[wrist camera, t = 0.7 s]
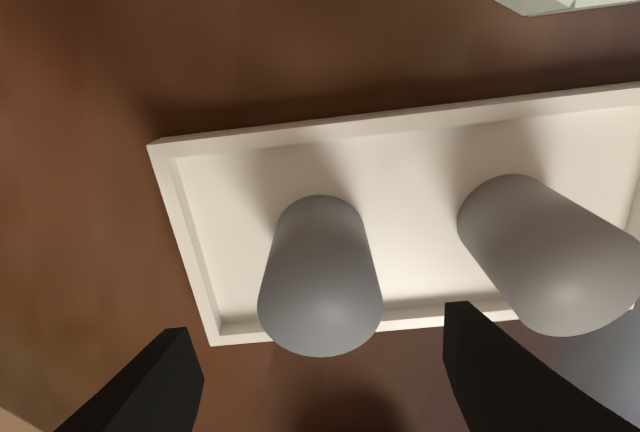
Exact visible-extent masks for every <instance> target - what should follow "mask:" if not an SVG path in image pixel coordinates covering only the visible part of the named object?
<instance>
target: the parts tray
mask: <svg viewBox="0 0 640 432" xmlns="http://www.w3.org/2000/svg"><path fill="white" fill-rule="evenodd" d="M146 147H147V150H148V153H149V156H150V160H151V163H152V166H153V169H154V172H155V175H156V178H157V181H158V185H159V188H160V191H161V194H162V197H163V200H164V203H165V206H166V210H167V213H168V216H169V219H170V222H171V225H172V228H173V231H174V234H175V238H176V241H177V244H178V247H179V250H180V253H181V256H182V259H183V263H184V266H185V269H186V272H187V275H188V278H189V281H190V284H191V288H192V291H193V294H194V297H195V300H196V303H197V306H198V309H199V313H200V316H201V319H202V322H203V325H204V328H205V331H206V334H207V338H208V341H209V344H210V346H221V345H232V344H244V343H255V342H266V341H273V340H272V339H271V338H270V337H269V336H268V335H267V333H266V332H265V330H264V329H263V327H262V325H261V323H260V321H259V318H258V313H257V300H258V295H259V291H260V287H261V283H262V279H263V275H264V272H265V268H266V264H267V260H268V256H269V252H270V248H271V244H272V241H273V237H274V233H275V229H276V225H277V222H278V220H279V218H280V216H281V214H282V213H283V212H284V210H285V209H286V208H287V207H288V206H290V205H291V204H292V203H294V202H295V201H297V200H299V199H301V198H304V197H307V196H311V195H329V196H334V197H337V198H339V199H342V200H344V201H345V202H347V203H348V204H350V205H351V206H352V207H353V208H354V209H355V210H356V211H357V212H358V214H359V215H360V217H361V219H362V221H363V224H364V227H365V231H366V235H367V239H368V243H369V247H370V251H371V255H372V259H373V263H374V267H375V270H376V274H377V278H378V282H379V286H380V290H381V294H382V298H383V314H382V319H381V321H380V324H379V326H378V328H377V330H376V331H375V332H380V331H391V330H402V329H414V328H425V327H436V326H444V309H445V302H456V301H467V300H468V301H469V302H470V303H471V304H472V305H474V306H475V307H476V308H477V309H478V310H479V311H481V312H482V313H483V314H484V315H485V316H487V317H488V318H489V319H490V320H491V321H492V322H493V321H505V320H516V319H519V318H518V316H517V315H516V314H515V312H514V311H513V310H512V308H511V307H510V306H509V304H508V303H507V302H506V300H505V299H504V298H503V296H502V295H501V294H500V292H499V291H498V290H497V288H496V287H495V286H494V284H493V283H492V282H491V280H490V279H489V278H488V276H487V275H486V274H485V272H484V271H483V270H482V268H481V267H480V266H479V264H478V263H477V262H476V260H475V259H474V258H473V256H472V255H471V254H470V252H469V251H468V250H467V248H466V247H465V246H464V245H463V243H462V242H461V240H460V238H459V235H458V232H457V217H458V213H459V210H460V208H461V206H462V204H463V202H464V200H465V199H466V198H467V196H468V195H469V194H470V193H471V192H472V191H473V190H474V189H475V188H476V187H478V186H479V185H481V184H482V183H484V182H485V181H487V180H489V179H492V178H494V177H497V176H501V175H506V174H521V175H526V176H529V177H532V178H534V179H535V180H537V181H539V182H541V183H542V184H544V185H546V186H547V187H549V188H551V189H553V190H554V191H556V192H558V193H559V194H561V195H563V196H565V197H566V198H568V199H570V200H572V201H573V202H575V203H577V204H578V205H580V206H582V207H584V208H585V209H587V210H589V211H591V212H592V213H594V214H596V215H597V216H599V217H601V218H603V219H604V220H606V221H608V222H609V223H611V224H613V225H615V226H616V227H618V228H620V229H622V230H623V231H625V232H627V233H628V234H630V235H632V236H634V237H635V238H636V239H637V240H639V241H640V81H635V82H627V83H618V84H610V85H601V86H593V87H584V88H576V89H567V90H559V91H551V92H542V93H534V94H525V95H517V96H508V97H500V98H491V99H483V100H474V101H466V102H457V103H449V104H440V105H432V106H423V107H415V108H407V109H398V110H390V111H381V112H373V113H364V114H356V115H347V116H339V117H330V118H322V119H313V120H305V121H296V122H288V123H279V124H271V125H263V126H254V127H246V128H237V129H229V130H220V131H212V132H203V133H195V134H186V135H178V136H169V137H161V138H159V139H157V140H155V141H153V142H152V143H150V144H148V145H146ZM634 304H635V303H634ZM634 304H633V305H632V306H631V307H630V308H629V309H633V307H634ZM629 309H628V310H629Z"/></svg>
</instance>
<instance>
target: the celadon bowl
mask: <svg viewBox="0 0 640 432" xmlns="http://www.w3.org/2000/svg"><path fill="white" fill-rule="evenodd" d="M495 1H496V2H498V3H500V4H502V5H504V6H506V7H507V8H509V9H511V10H513V11H515V12H516V13H518V14H520V15H522V16H526V15H528V17H531V16H539V15H546V14H554V13H562V12H570V11H578V10H585V9H593V8H601V7H609V6H617V5H623V4H629V3H635V2H640V0H495Z"/></svg>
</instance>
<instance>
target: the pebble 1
mask: <svg viewBox="0 0 640 432" xmlns="http://www.w3.org/2000/svg"><path fill="white" fill-rule="evenodd" d="M257 313H258V318H259V321H260V323H261V325H262V327H263V329H264V330H265V332H266V333H267V335H268V336H269V337H270V338H271V339H272V340H273V341H275V342H276V343H277V344H278V345H280V346H281V347H283V348H285V349H287V350H289V351H291V352H294V353H296V354H300V355H304V356H310V357H330V356H336V355H341V354H344V353H347V352H349V351H351V350H354V349H356V348H357V347H359V346H361V345H362V344H363V343H365V342H366V341H367V340H368V339H369V338H370V337H371V336H372V335H373V334H374V332H375V331H376V330H377V328H378V326H379V324H380V321H381V319H382V314H383V298H382V294H381V290H380V286H379V282H378V278H377V274H376V270H375V267H374V263H373V259H372V255H371V251H370V247H369V243H368V239H367V235H366V231H365V227H364V224H363V221H362V219H361V217H360V215H359V214H358V212H357V211H356V210H355V209H354V208H353V207H352V206H351V205H350V204H348V203H347V202H345V201H344V200H342V199H339V198H337V197H334V196H329V195H311V196H307V197H304V198H301V199H299V200H297V201H295V202H294V203H292V204H291V205H290V206H288V207H287V208H286V209H285V210H284V212H283V213H282V214H281V216H280V218H279V220H278V222H277V225H276V229H275V233H274V237H273V241H272V244H271V248H270V252H269V256H268V260H267V264H266V268H265V272H264V275H263V279H262V283H261V287H260V291H259V295H258V300H257Z"/></svg>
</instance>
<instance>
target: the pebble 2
mask: <svg viewBox="0 0 640 432" xmlns="http://www.w3.org/2000/svg"><path fill="white" fill-rule="evenodd" d="M457 232H458V235H459V238H460V240H461V242H462V243H463V245H464V246H465V247H466V248H467V250H468V251H469V252H470V254H471V255H472V256H473V258H474V259H475V260H476V262H477V263H478V264H479V266H480V267H481V268H482V270H483V271H484V272H485V274H486V275H487V276H488V278H489V279H490V280H491V282H492V283H493V284H494V286H495V287H496V288H497V290H498V291H499V292H500V294H501V295H502V296H503V298H504V299H505V300H506V302H507V303H508V304H509V306H510V307H511V308H512V310H513V311H514V312H515V314H516V315H517V316H518V318H519V319H520V320H521V321H522V323H524V324H525V325H526V326H527V327H529V328H530V329H532V330H534V331H536V332H538V333H541V334H544V335H549V336H558V337H565V336H575V335H580V334H585V333H588V332H591V331H594V330H596V329H599V328H601V327H603V326H605V325H607V324H609V323H611V322H612V321H614V320H615V319H617V318H618V317H620V316H621V315H622V314H624V313H625V312H626V311H627V310H628V309H629V308H630V307H631V306H632V305H633V304H634V303H635V302H636V300H637V299H638V298H639V296H640V241H639V240H637V239H636V238H635V237H634V236H632V235H630V234H628V233H627V232H625V231H623V230H622V229H620V228H618V227H616V226H615V225H613V224H611V223H609V222H608V221H606V220H604V219H603V218H601V217H599V216H597V215H596V214H594V213H592V212H591V211H589V210H587V209H585V208H584V207H582V206H580V205H578V204H577V203H575V202H573V201H572V200H570V199H568V198H566V197H565V196H563V195H561V194H559V193H558V192H556V191H554V190H553V189H551V188H549V187H547V186H546V185H544V184H542V183H541V182H539V181H537V180H535V179H534V178H532V177H529V176H526V175H521V174H506V175H501V176H497V177H494V178H492V179H489V180H487V181H485V182H484V183H482V184H481V185H479V186H478V187H476V188H475V189H474V190H473V191H472V192H471V193H470V194H469V195H468V196H467V198H466V199H465V200H464V202H463V204H462V206H461V208H460V210H459V213H458V217H457Z"/></svg>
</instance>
